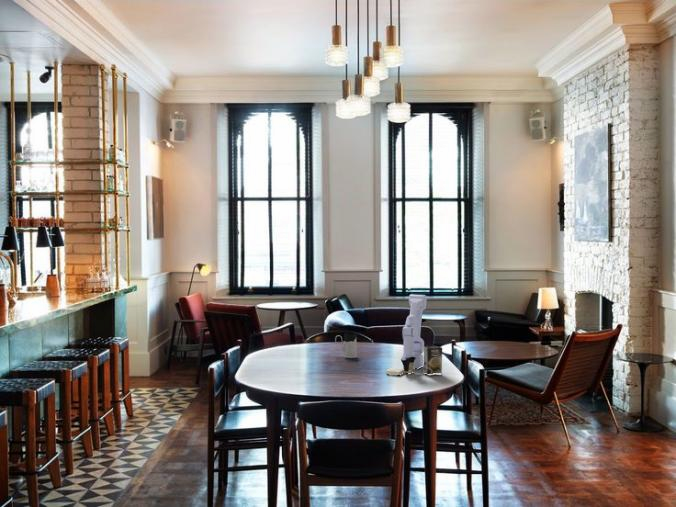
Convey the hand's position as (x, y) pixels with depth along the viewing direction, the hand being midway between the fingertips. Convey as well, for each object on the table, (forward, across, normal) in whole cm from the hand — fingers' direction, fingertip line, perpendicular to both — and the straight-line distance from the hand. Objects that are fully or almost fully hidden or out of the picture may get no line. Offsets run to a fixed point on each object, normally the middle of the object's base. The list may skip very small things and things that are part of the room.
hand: (408, 370), depth 387 cm
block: (+2, 0, 0) cm, 2 cm away
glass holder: (+2, +24, +54) cm, 59 cm away
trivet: (+2, -6, +6) cm, 8 cm away
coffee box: (+2, +4, -14) cm, 14 cm away
